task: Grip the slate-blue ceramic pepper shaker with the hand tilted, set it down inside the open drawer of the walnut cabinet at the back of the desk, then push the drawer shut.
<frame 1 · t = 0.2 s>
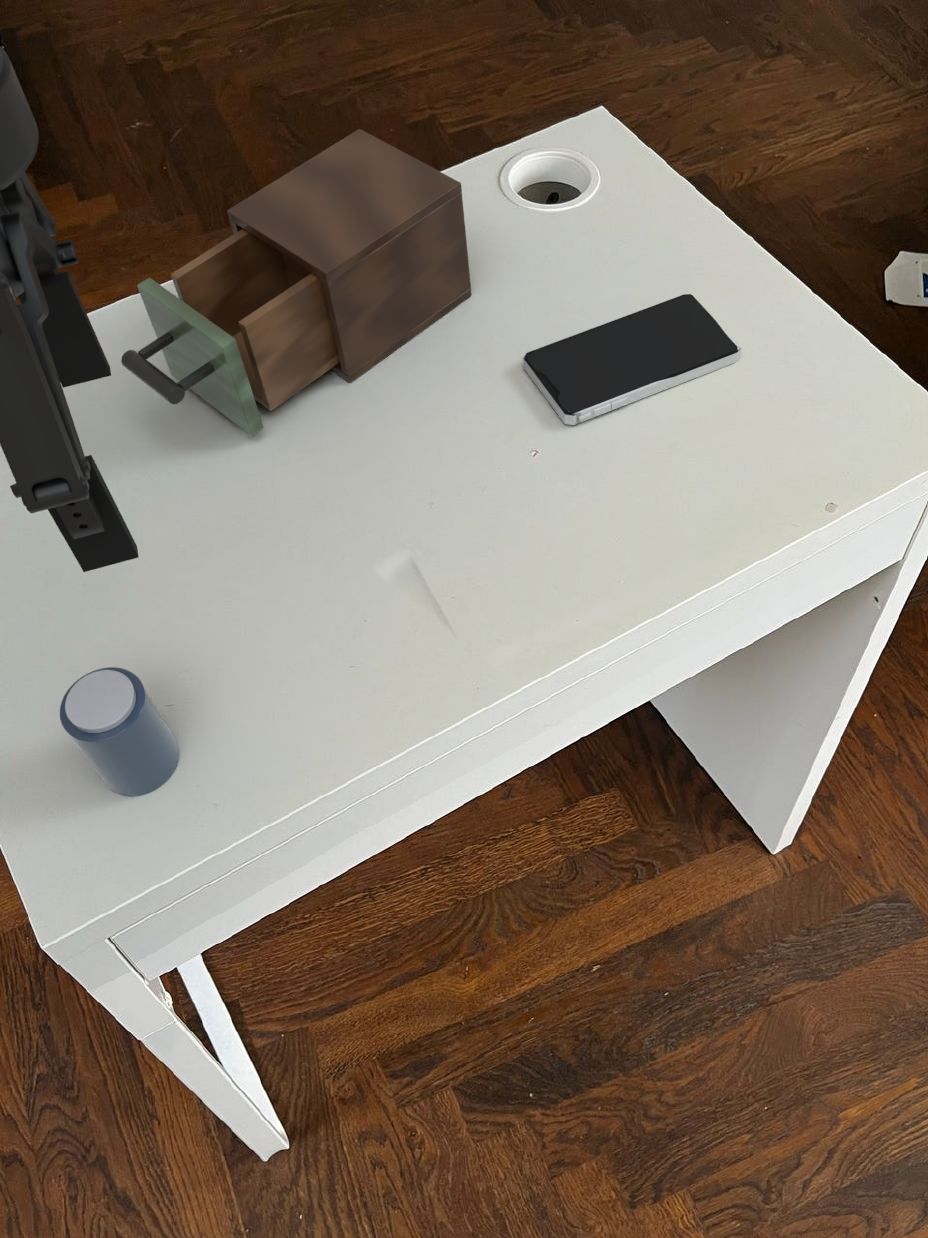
hand: (98, 462, 60), 20 cm above the table, tool pointing down, fingers open, 13 cm apart
smartphone: (630, 365, 89), on the table
shaker: (139, 760, 72), on the table
drawer: (238, 332, 87), point 5 cm above the table, slide at 8.0 cm
cabinet: (365, 308, 95), on the table
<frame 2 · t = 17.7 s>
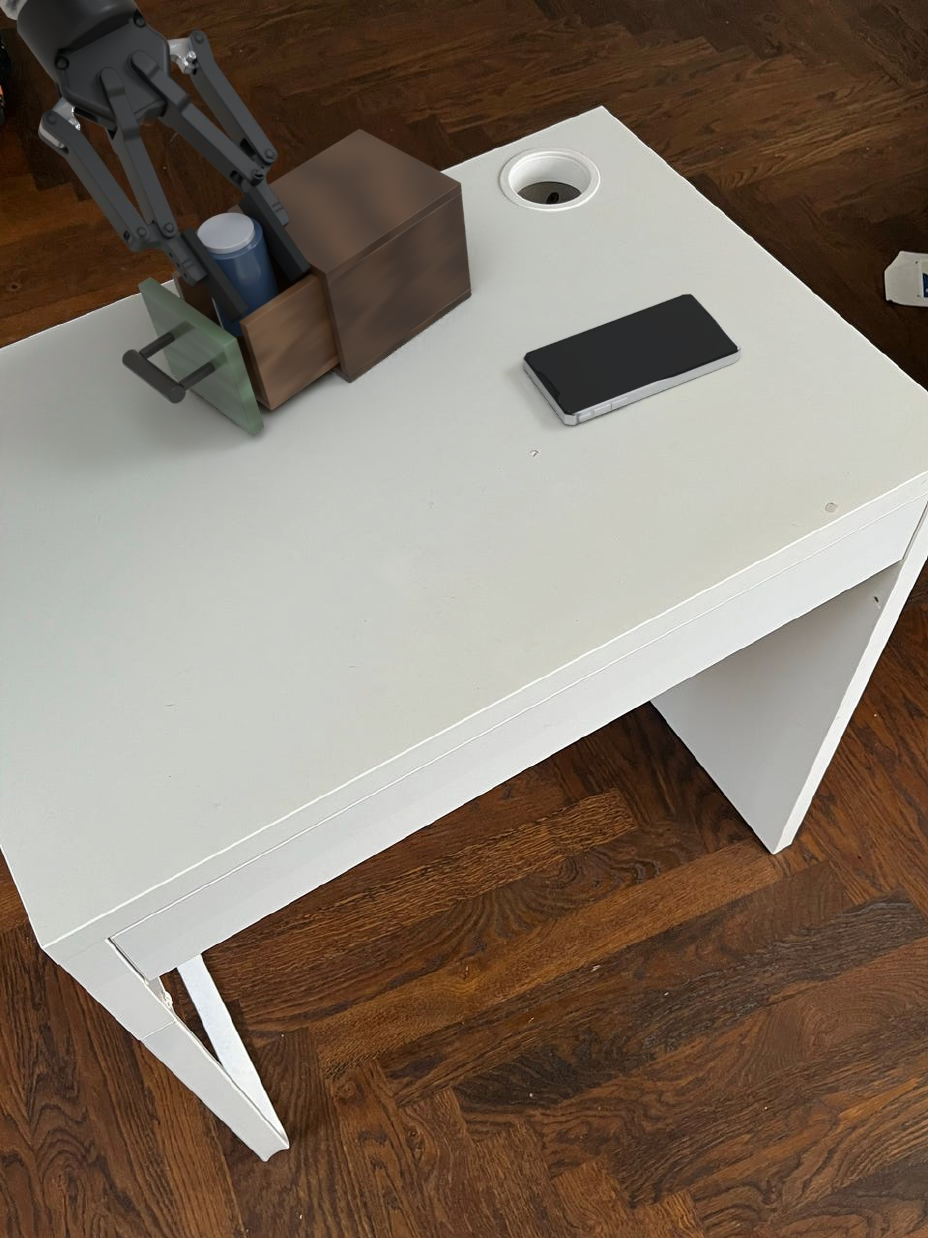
hand: (270, 294, 82), 10 cm above the table, tool tilted 45°, fingers closed on shaker, 5 cm apart
shaker: (250, 314, 87), point 6 cm above the table, touching gripper
drawer: (239, 332, 87), point 5 cm above the table, slide at 7.9 cm, touching gripper
everything else where it was.
when the fingers open (10 cm above the table, at t = 21.0 s): shaker drops 3 cm, resting on drawer.
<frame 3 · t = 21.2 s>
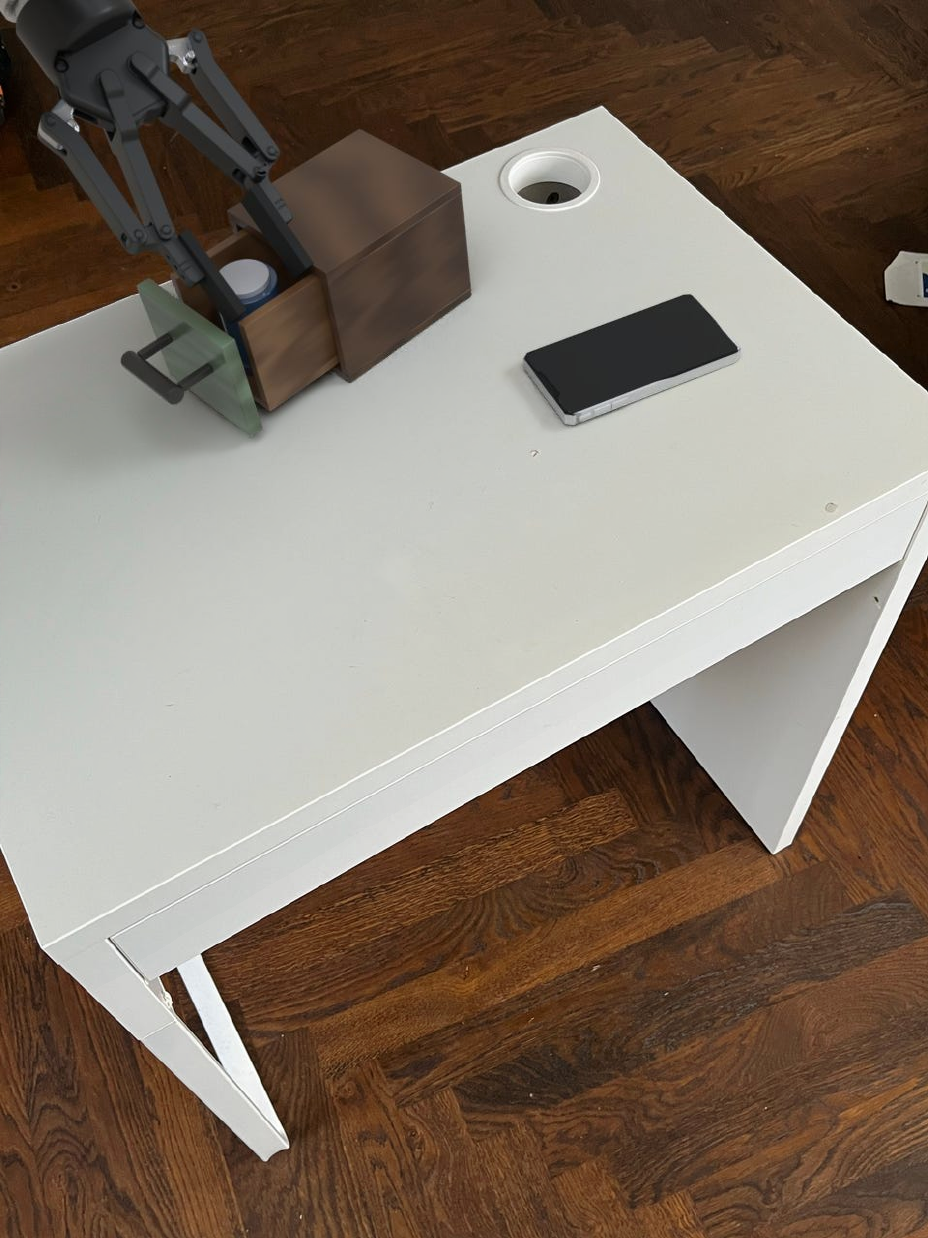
hand: (271, 293, 82), 10 cm above the table, tool tilted 45°, fingers open, 6 cm apart
shaker: (264, 354, 90), point 2 cm above the table, touching drawer
drawer: (237, 333, 87), point 5 cm above the table, slide at 8.1 cm, touching gripper, shaker
everything else where it was.
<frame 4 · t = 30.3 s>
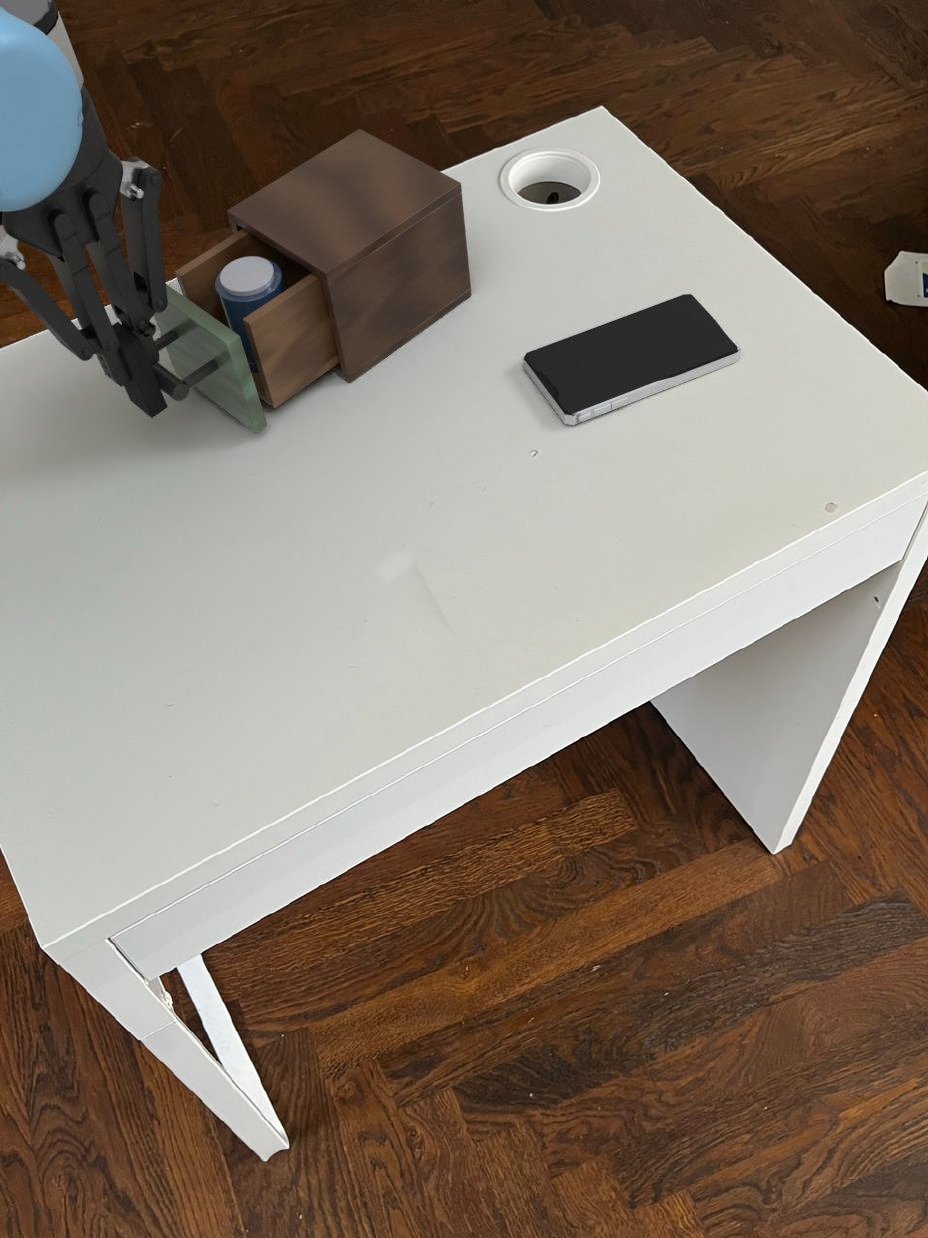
hand: (149, 403, 84), 4 cm above the table, tool pointing down, fingers closed
drawer: (242, 330, 87), point 5 cm above the table, slide at 7.6 cm, touching gripper, shaker
everything else where it was.
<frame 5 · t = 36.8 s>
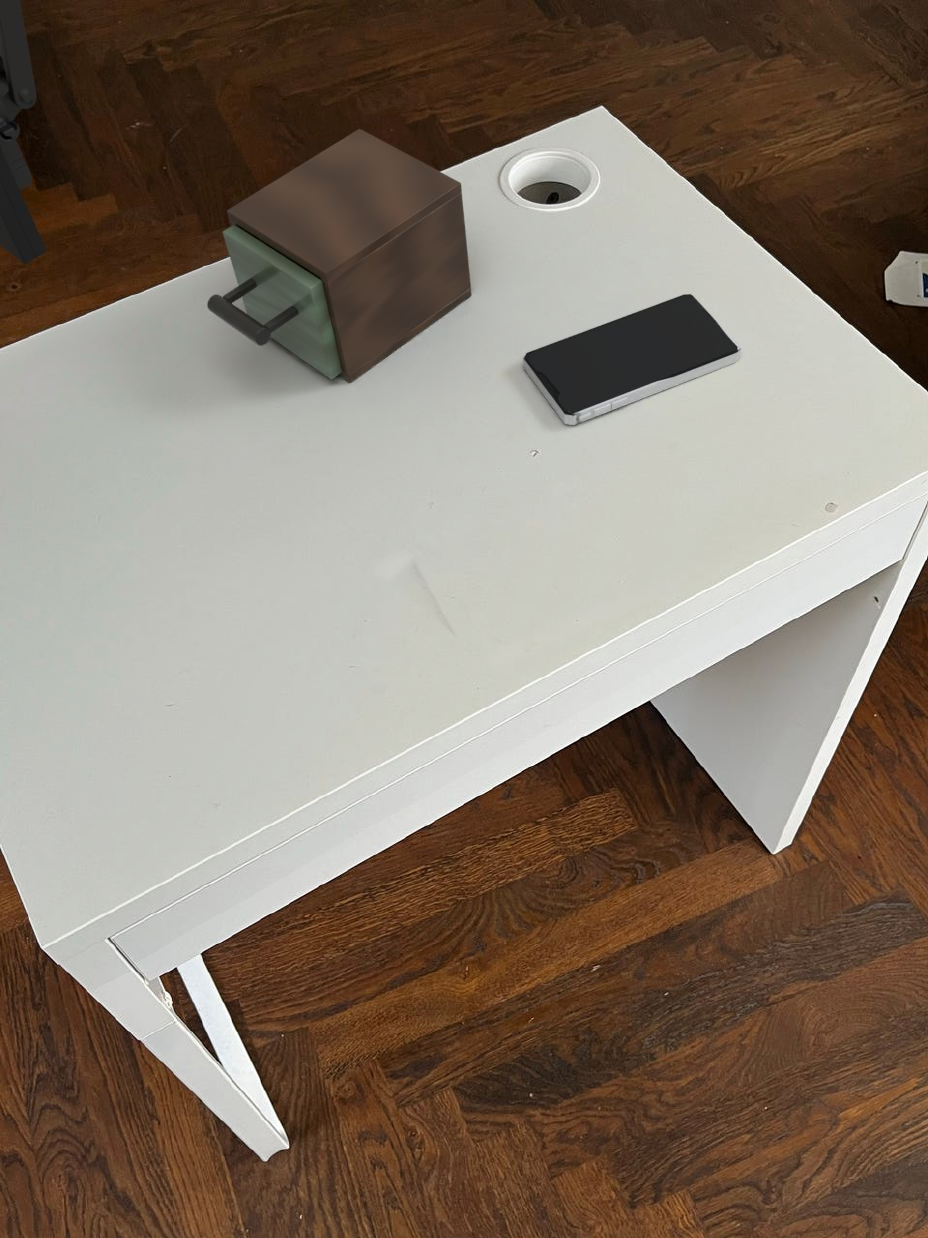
hand: (22, 247, 63), 24 cm above the table, tool pointing down, fingers closed
shaker: (341, 301, 93), point 2 cm above the table, touching drawer
drawer: (318, 279, 90), point 5 cm above the table, slide at 0.0 cm, touching shaker
everything else where it was.
at the end: shaker inside the target area in the cabinet (1.1 cm from its centre), point 2.0 cm above the cabinet's base; drawer slide at 0.0 cm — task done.
